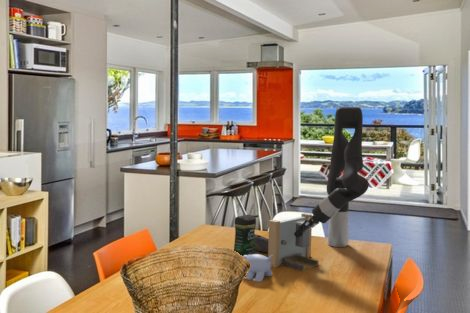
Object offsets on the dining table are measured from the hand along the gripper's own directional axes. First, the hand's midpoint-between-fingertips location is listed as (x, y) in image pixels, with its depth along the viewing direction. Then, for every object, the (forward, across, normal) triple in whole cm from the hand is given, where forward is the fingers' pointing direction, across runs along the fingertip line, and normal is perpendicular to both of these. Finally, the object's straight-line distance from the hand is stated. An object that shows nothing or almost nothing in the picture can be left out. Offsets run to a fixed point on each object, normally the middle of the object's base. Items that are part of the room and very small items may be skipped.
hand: (298, 234), depth 193 cm
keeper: (+8, 0, +10) cm, 13 cm away
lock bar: (+2, 0, +5) cm, 5 cm away
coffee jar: (+27, +3, -8) cm, 28 cm away
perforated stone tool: (+24, -9, -6) cm, 27 cm away
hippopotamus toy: (+15, +22, +4) cm, 27 cm away
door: (+13, -4, +6) cm, 14 cm away
